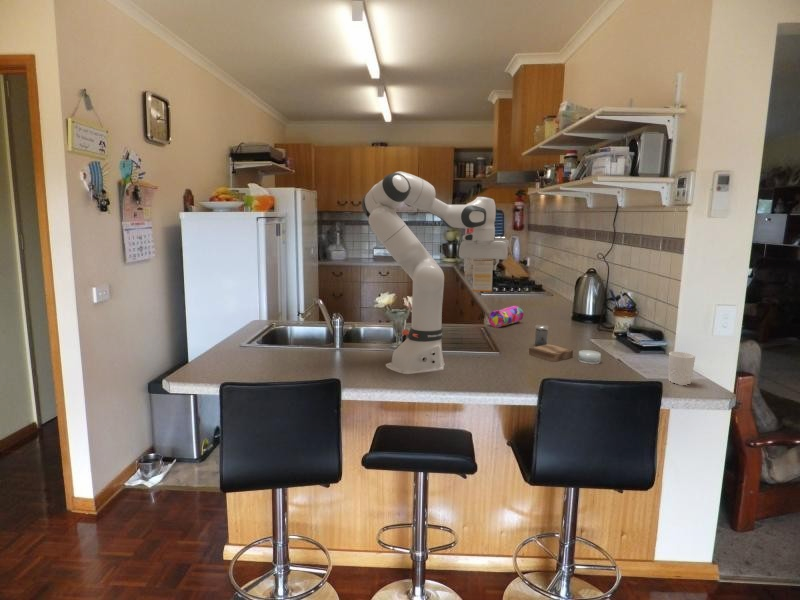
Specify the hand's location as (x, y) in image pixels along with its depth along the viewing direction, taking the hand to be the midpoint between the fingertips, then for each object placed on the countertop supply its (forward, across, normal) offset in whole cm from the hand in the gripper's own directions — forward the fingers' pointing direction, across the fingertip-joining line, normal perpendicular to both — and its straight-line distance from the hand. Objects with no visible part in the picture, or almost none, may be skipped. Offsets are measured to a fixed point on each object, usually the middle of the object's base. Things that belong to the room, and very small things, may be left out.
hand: (482, 269), depth 220 cm
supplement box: (+9, 0, 0) cm, 9 cm away
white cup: (+33, -70, +32) cm, 84 cm away
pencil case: (+33, -10, -48) cm, 60 cm away
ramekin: (+33, -43, +12) cm, 56 cm away
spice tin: (+33, -26, -7) cm, 42 cm away
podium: (+33, -29, +9) cm, 45 cm away
